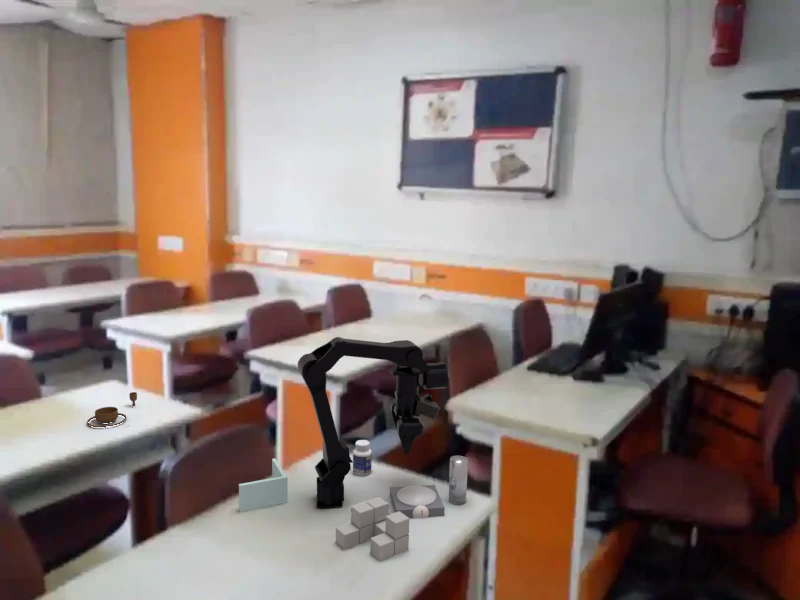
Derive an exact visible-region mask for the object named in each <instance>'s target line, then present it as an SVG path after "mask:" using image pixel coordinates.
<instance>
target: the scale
mask: <svg viewBox="0 0 800 600" xmlns="http://www.w3.org/2000/svg"><path fill="white" fill-rule="evenodd" d="M389 497H390V500H391V501H390V502H391V504H392V507H393V511H394V512H393V513H395V512H398V511H400V512H401V513H403V514H404V515H405V516H407V517H408V518H409V519H411V518H414V519H421V518H422V519H423V518H428V517H431V518H432V517H442V516H445V508H446V507H445V505H444V503H443V501H442V497H441V496H440V494H439V491H438V488H437V487H436V485H435V484H424V485H403V486H390V487H389Z"/></svg>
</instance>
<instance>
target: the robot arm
mask: <svg viewBox="0 0 800 600" xmlns="http://www.w3.org/2000/svg"><path fill="white" fill-rule="evenodd" d="M343 357H355V358H360V359H361V358H362V359H363V358H365V359H374V360H384V361H388V362H391V363H394V365H393V366H392V367H390V368H389V369H388V371H389V373H390V374H391V375H392V376H396V385H395V386H396V387H395V389H396V390H394V396H395V398H393V399H392V400H391V401H390V403H389V404H390V405H389V409H390V413H391V416H392V420H393V423H394V425H395V428H396V430H397V431H396V432H397V435H398V437H399V440H400V444H401V447H402V450H403V452H404V455H410V453H411V450H412V447H413V445H414V442H415V438H416V437H418V436H421V435H422V434H423V435H424V424H423V422H422V420H420V418H418V417H421V415H423V416H426V417H428V418H430V419H432V420H436V418H437V416H438V414H439V411H440V410H441V408H440V406H439V404H438V403H437V402H436V401H434V400H433V396H432V394H431V395H430V394H428V393H426V394H425V395H424V396H422V397H421V396H420V395H419V386H421V387H422V388H423V390H436V389H438V390H440V389H446V388H447V387H448V385H449V381H450V380H449V374H448V371H447V367H446V366H447V365H446V363H445V362H443V361H439V362H431V363H430V362H429V363H428V362H426V361H425V359H424V353H423V350H422V349H421V348H420V347H419V346H418V345H416V343H414V342H413V341H411V340H409V339H405V340H394V341H390V342H379V341H368V340H361V339H351V338H344V337H341V336H336V337H334V338H332V339H331V340H330V341H328V342H327V343H324V344H323V345H321V346H318V347H316V348H315V349H314V350H313V351H310V353H305V354H303V355H302V356H301V357H300V358H299V359H298V360H297V369H298V371H299V373H300V375H301V377H302V379H303V381H304V384H305V385H306V387H307V389H308V391H309V394H310V397H311V402H312V404H313V410H314V413H315V417H316V420H317V424H318V427H319V431H320V434H321V438H322V459H320V461H319V462H318V463H317V464H316V465H315V466H314V469H315V472H316V474H317V477H316V495H315V503H316V508H317V509H329V508H342V507H343V502H344V501H345V485H344V480H345V477H346V476H347V475H348V474H349V472H350V471H351V469H352V466H351V464H353V459H352V458H351V456H350V455H351V454H350V449H349V447H348V445H347V443H346V442H345V439H344V438H342V439H339V435H338V433H337V428H336V424H335V421H334V416H333V412H332V410H331V405H330V402H329V397H328V394H327V373H328V372H329V371H330V370H331V369H333V368H334V367H335V365H336V364H337V362H339V361H340V359H342V358H343ZM399 365H400V366H399Z"/></svg>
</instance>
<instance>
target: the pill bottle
mask: <svg viewBox="0 0 800 600" xmlns="http://www.w3.org/2000/svg"><path fill="white" fill-rule="evenodd" d="M370 443H371V442H370V441H369V440H367V439H359V440H356V442H355V446H354V447H355V449H353V451H352V461H353V463H352V472H353V474H354V475H356V476H360V477H365V475H366V476H368V475H370V474H371V473H372V464H373V463H372V457H373V455H372V454H373V451H372V450H371V448H370V446H371V444H370Z"/></svg>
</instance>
